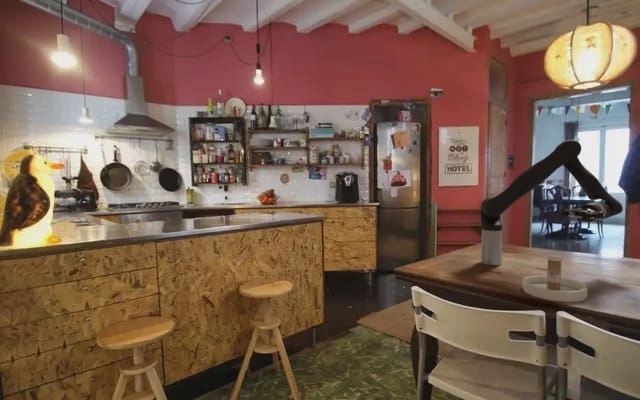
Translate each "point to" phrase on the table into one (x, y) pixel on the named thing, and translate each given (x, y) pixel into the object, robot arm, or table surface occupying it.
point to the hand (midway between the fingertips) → (574, 215)
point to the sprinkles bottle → (554, 272)
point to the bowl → (568, 292)
